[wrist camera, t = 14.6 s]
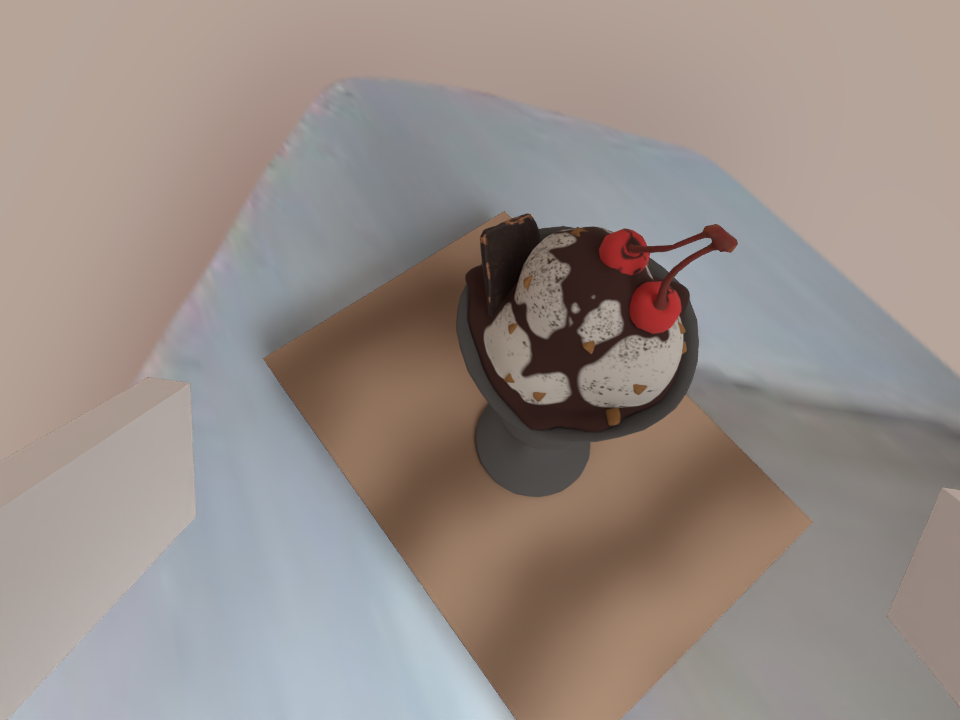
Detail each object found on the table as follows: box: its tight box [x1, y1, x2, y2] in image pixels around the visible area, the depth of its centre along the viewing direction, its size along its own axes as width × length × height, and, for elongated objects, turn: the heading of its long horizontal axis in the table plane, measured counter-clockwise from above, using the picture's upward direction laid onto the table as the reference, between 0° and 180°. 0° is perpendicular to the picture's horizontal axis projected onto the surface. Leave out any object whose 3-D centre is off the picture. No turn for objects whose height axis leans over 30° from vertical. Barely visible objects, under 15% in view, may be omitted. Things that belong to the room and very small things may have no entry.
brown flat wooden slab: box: [263, 211, 813, 720], centre depth 26 cm, size 20×14×2 cm
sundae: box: [456, 214, 738, 497], centre depth 18 cm, size 7×7×15 cm
